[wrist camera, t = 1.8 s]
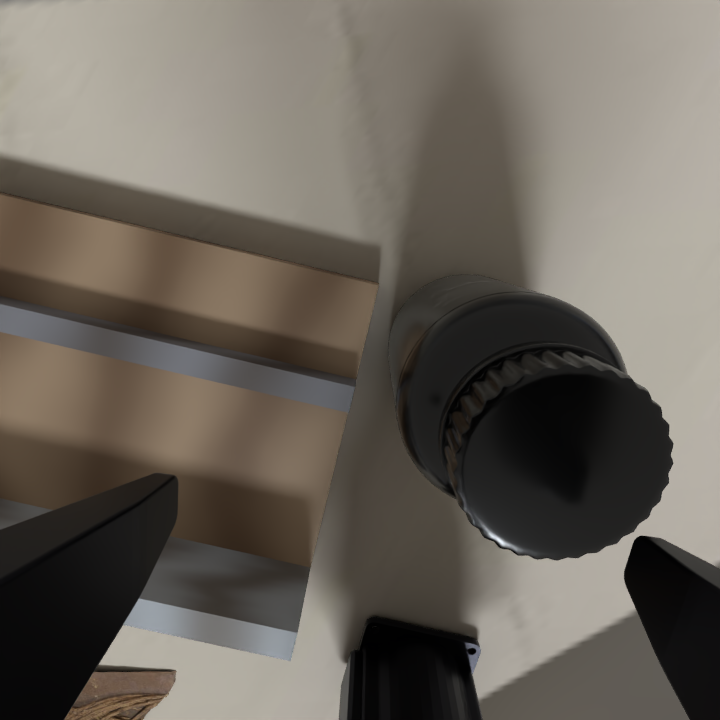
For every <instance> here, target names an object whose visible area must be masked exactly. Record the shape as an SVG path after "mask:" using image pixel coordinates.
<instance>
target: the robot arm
mask: <svg viewBox="0 0 720 720" xmlns="http://www.w3.org/2000/svg"><path fill="white" fill-rule="evenodd" d="M178 488H179V482H178V478H177V477H176V476H175V475H172V474H165V473H153V474H150V475H148V476H145V477H142V478H140V479H137V480H134V481H131V482H129V483H126V484H123V485H120V486H118V487H115V488H112V489H110V490H107V491H104V492H101V493H99V494H96V495H93V496H90V497H88V498H85V499H82V500H79V501H77V502H74V503H71V504H69V505H66V506H63V507H60V508H58V509H55V510H52V511H49V512H47V513H44V514H41V515H39V516H36V517H33V518H30V519H28V520H25V521H22V522H19V523H17V524H14V525H11V526H9V527H6V528H3V529H0V720H64V719H65V718H66V716H67V714H68V713H69V711H70V710H71V708H72V706H73V705H74V703H75V702H76V700H77V698H78V697H79V695H80V693H81V692H82V690H83V689H84V687H85V685H86V684H87V682H88V681H89V679H90V677H91V676H92V674H93V673H94V671H95V669H96V668H97V666H98V664H99V663H100V661H101V660H102V658H103V656H104V655H105V653H106V652H107V650H108V648H109V647H110V645H111V643H112V642H113V640H114V639H115V637H116V635H117V634H118V632H119V631H120V629H121V627H122V626H123V624H124V622H125V621H126V619H127V618H128V616H129V614H130V613H131V611H132V610H133V608H134V606H135V604H136V603H137V601H138V599H139V598H140V596H141V594H142V592H143V590H144V588H145V586H146V584H147V582H148V580H149V578H150V576H151V574H152V572H153V569H154V567H155V565H156V563H157V561H158V559H159V557H160V555H161V553H162V551H163V549H164V547H165V545H166V542H167V540H168V538H169V536H170V534H171V532H172V530H173V528H174V526H175V523H176V520H177V515H178ZM624 580H625V584H626V587H627V589H628V592H629V594H630V596H631V599H632V601H633V603H634V605H635V608H636V610H637V612H638V615H639V617H640V619H641V622H642V624H643V626H644V628H645V631H646V633H647V635H648V638H649V640H650V642H651V645H652V647H653V649H654V652H655V654H656V656H657V658H658V660H659V662H660V664H661V667H662V668H663V670H664V672H665V674H666V676H667V678H668V680H669V682H670V684H671V686H672V687H673V690H674V691H675V693H676V695H677V697H678V699H679V700H680V702H681V704H682V706H683V708H684V710H685V712H686V714H687V715H688V717H689V719H690V720H720V569H719V568H717V567H715V566H714V565H712V564H710V563H708V562H706V561H704V560H702V559H700V558H698V557H696V556H694V555H692V554H690V553H689V552H687V551H685V550H683V549H681V548H679V547H677V546H675V545H673V544H671V543H669V542H667V541H666V540H664V539H661V538H656V537H648V536H639V537H637V538H636V539H635V540H634V543H633V545H632V549H631V552H630V555H629V558H628V561H627V564H626V567H625V571H624ZM373 626H376V627H377V628H373ZM468 648H472V649H468ZM480 652H481V650H480V646H479V643H478V641H477V640H476V639H474V638H470V637H466V636H461V635H457V634H452V633H448V632H443V631H439V630H434V629H430V628H425V627H421V626H416V625H411V624H407V623H402V622H398V621H393V620H389V619H384V618H380V617H370V618H369V619H367V621H366V623H365V627H364V630H363V634H362V637H361V641H360V644H359V648H358V650H356V649H354V650H353V651H352V652H351V653H350V656H349V660H348V663H347V667H346V670H345V674H344V677H343V681H342V685H341V695H340V709H339V720H483V719H482V715H481V710H480V706H479V701H478V697H477V693H476V688H475V684H474V680H473V676H472V674H473V672H474V669H475V666H476V664H477V661H478V658H479V655H480Z"/></svg>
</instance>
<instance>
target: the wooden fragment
mask: <svg viewBox="0 0 720 720" xmlns="http://www.w3.org/2000/svg"><path fill="white" fill-rule="evenodd" d="M175 675H176V671H172V672H158V671H148V672H103V673H102V672H94V673H93V674H92V676H91V677H90V679H89V681H88V682H87V684H86V685H85V687H84V689H83V690H82V692H81V693H80V695H79V697H78V698H77V700H76V702H75V703H74V705H73V706H72V708H71V710H70V711H69V713H68V714H67V716H66V718H65V719H64V720H143V719H144V717H145V715H146V714H147V713H148V712H149V711H150V709H152V708H154V707H155V706H157V705H158V704H159V702H160V701H161V700H162V699H163V698H164V697H167V696H168V694H169V691H170V689H171V688H172V686H173V684H174V682H175Z"/></svg>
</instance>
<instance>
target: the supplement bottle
mask: <svg viewBox="0 0 720 720" xmlns="http://www.w3.org/2000/svg"><path fill="white" fill-rule="evenodd" d="M388 357H389V367H390V374H391V381H392V388H393V395H394V402H395V409H396V415H397V421H398V426H399V430H400V433H401V436H402V439H403V443H404V445H405V447H406V450H407V452H408V454H409V456H410V457H411V459H412V461H413V462H414V464H415V465H416V467H417V468H418V469H419V471H420V472H421V473H422V474H423V475H424V476H425V477H426V478H427V479H428V480H429V481H430V482H431V483H432V484H433V485H434V486H436V487H437V488H438V489H440V490H441V491H442V492H444V493H446V494H447V495H449V496H451V497H452V498H454V499H456V500H457V501H458V504H459V506H460V507H461V508H462V510H463V511H464V512H466V515H467V518H468V520H469V522H470V523H471V524H472V525H473V526H475V527H476V528H478V529H479V530H480V532H481V534H482V536H483V537H484V538H486V539H489V540H492V541H494V542H495V543H496V545H497V546H498V547H499V548H502V549H509V550H511V551H512V552H514V553H515V554H517V555H520V556H524V555H529V556H531V557H532V558H535V559H544V558H549V559H553V560H561V559H564V558H567V557H569V558H579V557H581V556H583V555H585V554H587V553H597V552H599V551H600V550H602V549H603V548H604V547H606V546H609V545H613V544H617V543H618V542H619V541H620V539H621V538H622V537H623V536H625V535H628V534H630V533H632V532H634V530H635V529H636V528H637V526H638V524H639V523H641V522H642V521H644V520H645V519H647V518H648V517H649V515H650V512H651V510H652V508H653V507H654V506H655V505H657V504H658V503H659V502H660V500H661V495H662V491H663V490H664V488H665V487H666V486H667V485H668V483H669V477H668V473H669V471H670V469H671V467H672V465H673V460H672V458H671V452H672V448H673V442H672V440H671V439H670V438H669V424H668V423H667V422H666V421H665V420H664V419H663V418H662V411H661V407H660V406H659V405H658V404H657V403H656V402H654V401H653V400H652V399H651V396H650V394H649V392H648V391H647V389H646V388H644V387H643V386H641V385H639V384H637V383H635V382H634V381H633V380H632V378H631V377H630V376H629V375H628V374H627V370H626V367H625V364H624V361H623V359H622V356H621V354H620V352H619V350H618V348H617V346H616V345H615V343H614V342H613V340H612V339H611V337H610V336H609V335H608V333H607V332H606V331H605V330H604V329H603V328H602V327H601V326H600V325H599V324H598V323H597V322H596V321H595V320H594V319H593V318H592V317H590V316H589V315H587V314H586V313H584V312H583V311H582V310H580V309H578V308H576V307H574V306H572V305H571V304H568V303H566V302H564V301H562V300H559V299H557V298H554V297H551V296H548V295H545V294H541V293H538V292H535V291H532V290H528V289H525V288H522V287H518V286H515V285H512V284H509V283H505V282H502V281H499V280H495V279H492V278H488V277H484V276H479V275H470V274H465V275H453V276H448V277H444V278H441V279H438V280H436V281H433V282H431V283H429V284H427V285H426V286H424V287H422V288H421V289H420V290H418V291H417V292H416V293H415V294H413V295H412V296H411V297H410V298H409V299H408V300H407V301H406V303H405V304H404V305H403V306H402V308H401V309H400V311H399V313H398V314H397V316H396V318H395V320H394V323H393V325H392V329H391V332H390V337H389V344H388Z"/></svg>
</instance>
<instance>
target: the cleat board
mask: <svg viewBox="0 0 720 720" xmlns="http://www.w3.org/2000/svg"><path fill="white" fill-rule="evenodd" d="M378 287H379V283H376V282H372V281H368V280H363V279H359V278H355V277H351V276H347V275H343V274H339V273H334V272H330V271H326V270H322V269H318V268H314V267H309V266H305V265H301V264H297V263H293V262H289V261H284V260H280V259H276V258H272V257H268V256H264V255H260V254H255V253H251V252H247V251H243V250H239V249H235V248H230V247H226V246H222V245H218V244H214V243H210V242H206V241H201V240H197V239H193V238H189V237H185V236H181V235H176V234H172V233H168V232H164V231H160V230H156V229H151V228H147V227H143V226H139V225H135V224H131V223H127V222H122V221H118V220H114V219H110V218H106V217H102V216H97V215H93V214H89V213H85V212H81V211H77V210H72V209H68V208H64V207H60V206H56V205H52V204H48V203H43V202H39V201H35V200H31V199H27V198H23V197H18V196H14V195H10V194H6V193H2V192H0V529H3V528H6V527H9V526H11V525H14V524H17V523H19V522H22V521H25V520H28V519H30V518H33V517H36V516H39V515H41V514H44V513H47V512H49V511H52V510H55V509H58V508H60V507H63V506H66V505H69V504H71V503H74V502H77V501H79V500H82V499H85V498H88V497H90V496H93V495H96V494H99V493H101V492H104V491H107V490H110V489H112V488H115V487H118V486H120V485H123V484H126V483H129V482H131V481H134V480H137V479H140V478H142V477H145V476H148V475H150V474H153V473H165V474H172V475H175V476H176V477H177V478H178V482H179V488H178V515H177V520H176V523H175V526H174V528H173V530H172V532H171V534H170V536H169V538H168V540H167V542H166V545H165V547H164V549H163V551H162V553H161V555H160V557H159V559H158V561H157V563H156V565H155V567H154V569H153V572H152V574H151V576H150V578H149V580H148V582H147V584H146V586H145V588H144V590H143V592H142V594H141V596H140V598H139V599H138V601H137V603H136V604H135V606H134V608H133V610H132V611H131V613H130V614H129V616H128V618H127V619H126V621H125V622H124V624H123V625H127V626H131V627H136V628H140V629H145V630H150V631H154V632H159V633H163V634H168V635H173V636H177V637H182V638H187V639H191V640H196V641H200V642H205V643H210V644H214V645H219V646H223V647H228V648H233V649H237V650H242V651H247V652H251V653H256V654H260V655H265V656H270V657H274V658H279V659H283V660H288V661H291V657H292V653H293V649H294V645H295V641H296V636H297V632H298V627H299V622H300V617H301V612H302V607H303V602H304V597H305V592H306V587H307V582H308V577H309V572H310V567H311V563H312V559H313V555H314V551H315V547H316V543H317V538H318V534H319V530H320V526H321V522H322V518H323V514H324V510H325V506H326V501H327V497H328V493H329V489H330V485H331V481H332V477H333V473H334V468H335V464H336V460H337V456H338V452H339V448H340V444H341V440H342V436H343V431H344V427H345V423H346V419H347V415H348V413H349V410H350V406H351V402H352V398H353V394H354V390H355V384H356V378H357V374H358V370H359V366H360V361H361V357H362V353H363V349H364V345H365V341H366V337H367V333H368V329H369V324H370V320H371V316H372V312H373V308H374V304H375V300H376V296H377V291H378Z"/></svg>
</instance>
